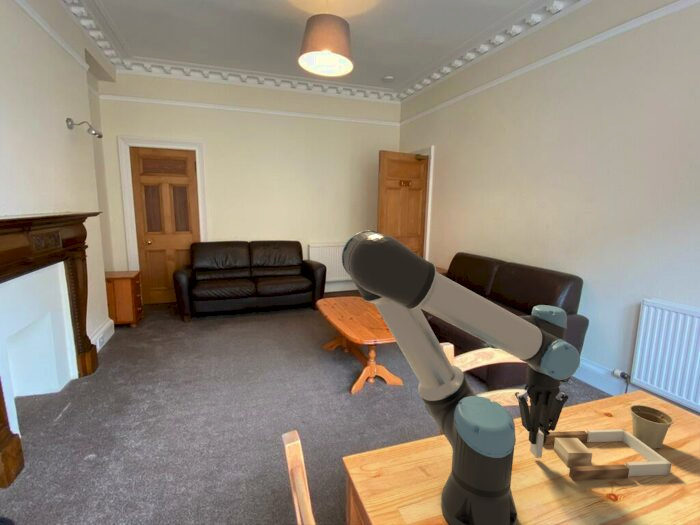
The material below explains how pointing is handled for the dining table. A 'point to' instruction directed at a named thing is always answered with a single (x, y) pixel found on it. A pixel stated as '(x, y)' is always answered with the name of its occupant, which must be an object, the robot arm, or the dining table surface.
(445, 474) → the dining table surface
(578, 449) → the beige square block
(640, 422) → the flower pot
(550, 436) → the slot rails
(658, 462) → the corral
